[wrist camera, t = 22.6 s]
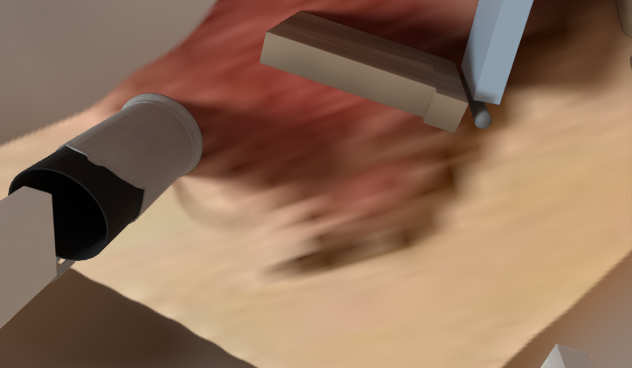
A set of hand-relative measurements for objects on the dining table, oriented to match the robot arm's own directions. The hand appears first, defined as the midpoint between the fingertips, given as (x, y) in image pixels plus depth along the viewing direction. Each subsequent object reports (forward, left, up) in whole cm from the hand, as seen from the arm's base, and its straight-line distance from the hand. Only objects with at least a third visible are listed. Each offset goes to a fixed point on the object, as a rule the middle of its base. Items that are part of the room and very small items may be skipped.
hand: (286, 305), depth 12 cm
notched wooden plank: (-1, +1, -30) cm, 30 cm away
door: (-7, +6, -30) cm, 31 cm away
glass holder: (+16, -18, -30) cm, 39 cm away
